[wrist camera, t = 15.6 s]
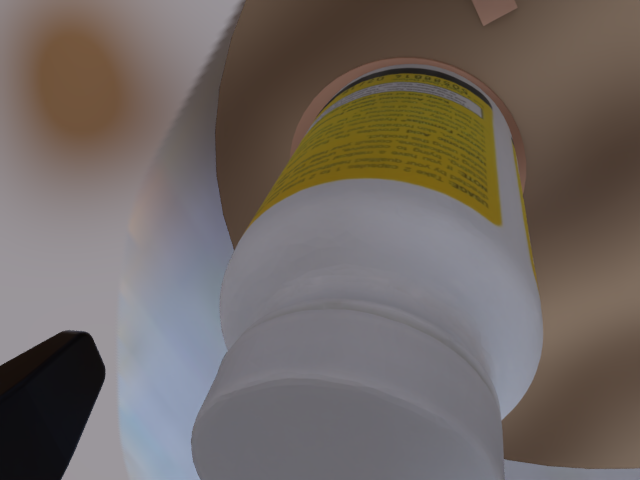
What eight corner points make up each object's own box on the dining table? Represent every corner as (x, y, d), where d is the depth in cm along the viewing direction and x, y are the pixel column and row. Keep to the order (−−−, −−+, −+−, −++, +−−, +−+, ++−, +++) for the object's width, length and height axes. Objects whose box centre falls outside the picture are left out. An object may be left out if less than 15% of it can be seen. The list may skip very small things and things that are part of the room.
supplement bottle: (272, 129, 15) (54, 403, 7) (449, 13, 13) (419, 236, 5) (377, 272, 17) (297, 620, 9) (550, 196, 14) (657, 585, 6)
